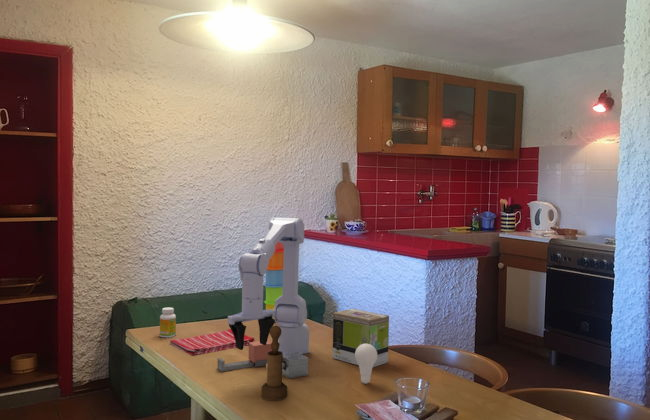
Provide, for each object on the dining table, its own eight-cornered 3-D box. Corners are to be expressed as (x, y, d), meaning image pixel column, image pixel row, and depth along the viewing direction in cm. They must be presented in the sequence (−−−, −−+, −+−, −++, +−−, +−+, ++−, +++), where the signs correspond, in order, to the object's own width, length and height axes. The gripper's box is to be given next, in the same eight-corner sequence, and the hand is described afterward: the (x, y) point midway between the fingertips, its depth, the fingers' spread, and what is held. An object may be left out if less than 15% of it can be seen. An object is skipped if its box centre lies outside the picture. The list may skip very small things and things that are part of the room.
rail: (273, 360, 173) (274, 350, 173) (278, 363, 170) (278, 353, 170) (217, 368, 164) (217, 358, 164) (221, 371, 161) (221, 361, 161)
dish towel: (256, 345, 191) (256, 337, 191) (192, 357, 176) (192, 349, 176) (230, 334, 204) (231, 327, 204) (169, 345, 189) (169, 337, 189)
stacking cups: (281, 323, 219) (283, 234, 217) (259, 320, 223) (260, 233, 222) (294, 318, 228) (296, 233, 227) (272, 315, 232) (273, 231, 231)
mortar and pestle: (266, 402, 140) (268, 330, 139) (257, 393, 145) (258, 324, 145) (291, 398, 143) (292, 327, 142) (281, 389, 148) (282, 322, 148)
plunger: (282, 368, 161) (283, 359, 161) (286, 371, 159) (287, 362, 159) (266, 371, 158) (266, 361, 158) (269, 373, 156) (270, 364, 156)
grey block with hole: (298, 368, 165) (298, 352, 165) (307, 375, 160) (308, 357, 160) (279, 371, 162) (279, 354, 162) (288, 378, 157) (289, 360, 157)
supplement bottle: (171, 338, 195) (171, 310, 194) (156, 337, 196) (157, 309, 196) (178, 334, 200) (178, 307, 200) (164, 333, 201) (164, 306, 201)
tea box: (389, 362, 173) (390, 315, 173) (368, 369, 166) (370, 320, 165) (351, 352, 184) (353, 307, 183) (331, 358, 176) (332, 311, 176)
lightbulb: (370, 389, 150) (371, 348, 150) (350, 384, 153) (351, 344, 153) (380, 382, 155) (381, 343, 155) (360, 378, 159) (361, 339, 158)
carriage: (266, 359, 173) (266, 339, 172) (272, 364, 169) (272, 343, 168) (248, 362, 170) (248, 342, 169) (253, 367, 166) (254, 346, 165)
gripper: (265, 292, 162) (264, 338, 162) (221, 298, 152) (221, 347, 153) (280, 296, 156) (279, 344, 157) (236, 302, 147) (235, 353, 147)
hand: (251, 346), depth 154 cm, fingers open, 7 cm apart
